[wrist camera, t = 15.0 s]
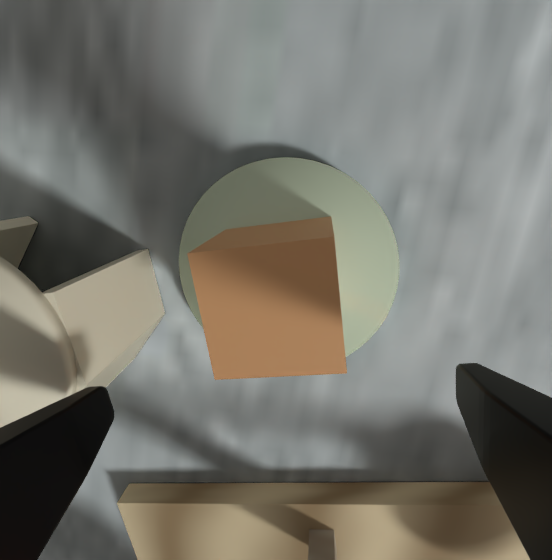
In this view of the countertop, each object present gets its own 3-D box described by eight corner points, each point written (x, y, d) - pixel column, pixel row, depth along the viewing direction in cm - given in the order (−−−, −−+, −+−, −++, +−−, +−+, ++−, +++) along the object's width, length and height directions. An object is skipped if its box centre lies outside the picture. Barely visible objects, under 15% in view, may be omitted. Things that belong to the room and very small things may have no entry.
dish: (400, 353, 15) (404, 364, 14) (209, 366, 16) (203, 376, 15) (388, 139, 12) (393, 137, 12) (165, 176, 14) (155, 177, 13)
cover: (176, 354, 16) (97, 454, 11) (43, 364, 17) (-92, 458, 12) (135, 199, 14) (9, 219, 9) (-13, 222, 15) (-208, 254, 10)
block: (340, 317, 14) (346, 373, 10) (243, 324, 14) (214, 379, 11) (331, 216, 13) (334, 236, 9) (225, 229, 13) (187, 253, 10)
